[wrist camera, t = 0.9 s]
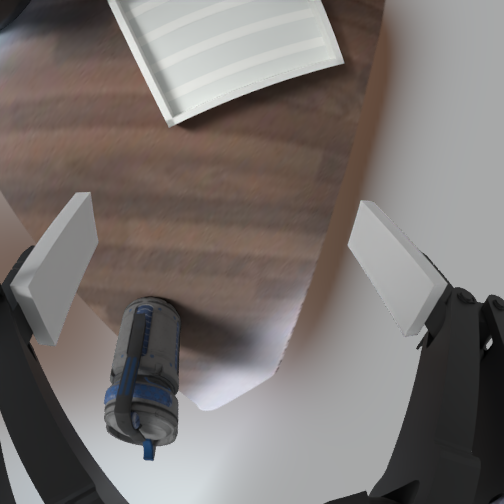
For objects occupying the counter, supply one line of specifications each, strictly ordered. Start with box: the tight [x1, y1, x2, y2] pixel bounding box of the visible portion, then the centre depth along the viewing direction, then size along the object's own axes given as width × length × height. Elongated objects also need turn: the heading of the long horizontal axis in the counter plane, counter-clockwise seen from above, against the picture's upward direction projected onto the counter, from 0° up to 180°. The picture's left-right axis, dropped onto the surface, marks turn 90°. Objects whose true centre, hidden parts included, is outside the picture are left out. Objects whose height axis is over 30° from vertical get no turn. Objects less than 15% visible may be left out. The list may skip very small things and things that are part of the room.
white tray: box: [107, 0, 344, 127], centre depth 26 cm, size 19×22×3 cm
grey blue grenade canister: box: [104, 297, 181, 461], centre depth 40 cm, size 10×13×25 cm
